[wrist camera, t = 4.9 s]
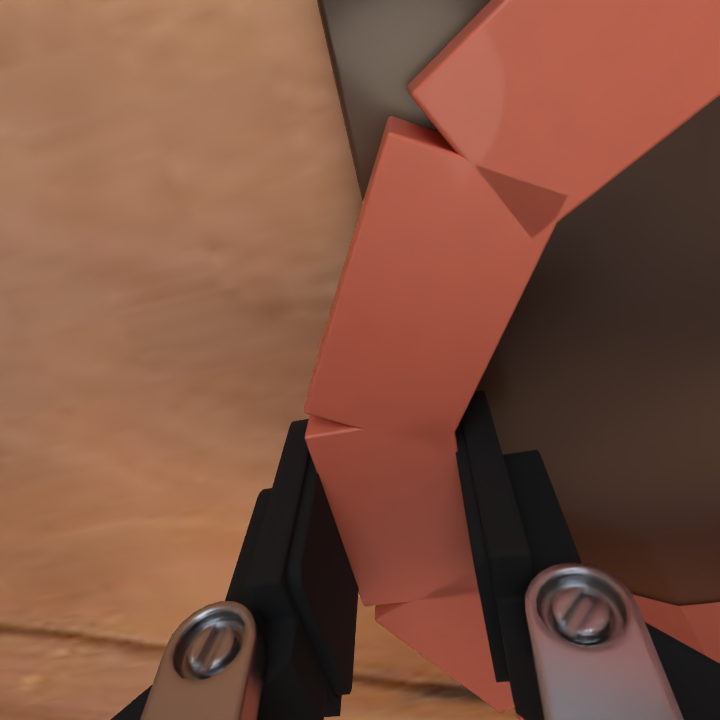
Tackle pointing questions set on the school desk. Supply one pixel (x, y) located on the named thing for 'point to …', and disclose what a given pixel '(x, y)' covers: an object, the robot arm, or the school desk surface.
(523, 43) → the ring
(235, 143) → the school desk surface
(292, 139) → the school desk surface
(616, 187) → the board
